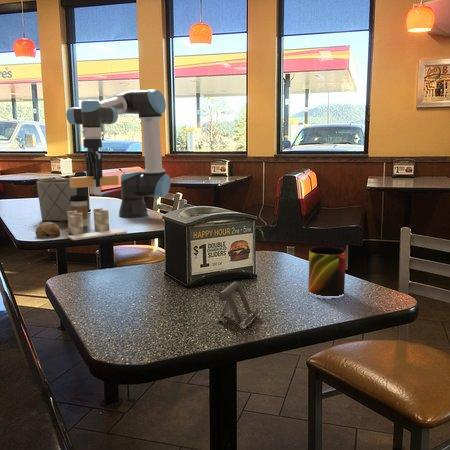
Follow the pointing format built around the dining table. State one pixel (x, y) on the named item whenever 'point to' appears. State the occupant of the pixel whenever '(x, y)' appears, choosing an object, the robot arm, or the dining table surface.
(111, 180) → the rail
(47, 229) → the bread roll
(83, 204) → the coffee cup
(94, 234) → the board
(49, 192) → the planter
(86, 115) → the robot arm
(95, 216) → the post
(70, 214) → the post
